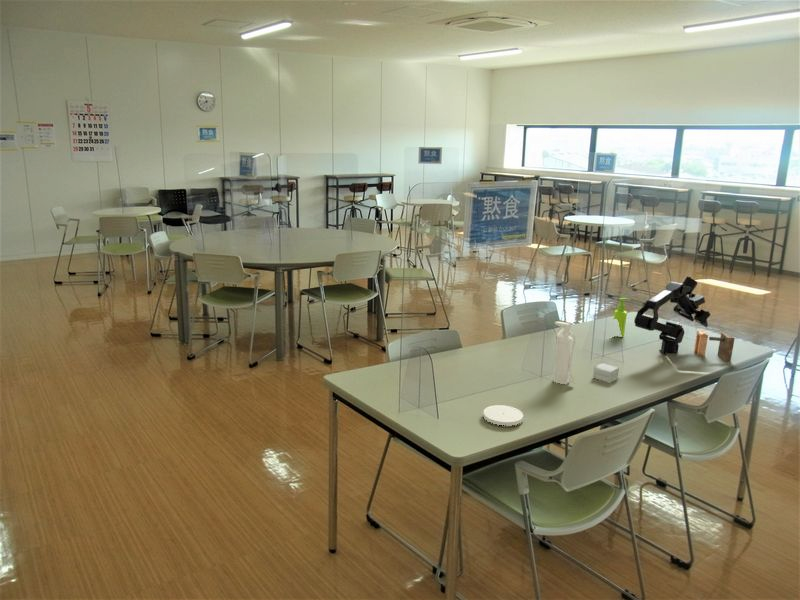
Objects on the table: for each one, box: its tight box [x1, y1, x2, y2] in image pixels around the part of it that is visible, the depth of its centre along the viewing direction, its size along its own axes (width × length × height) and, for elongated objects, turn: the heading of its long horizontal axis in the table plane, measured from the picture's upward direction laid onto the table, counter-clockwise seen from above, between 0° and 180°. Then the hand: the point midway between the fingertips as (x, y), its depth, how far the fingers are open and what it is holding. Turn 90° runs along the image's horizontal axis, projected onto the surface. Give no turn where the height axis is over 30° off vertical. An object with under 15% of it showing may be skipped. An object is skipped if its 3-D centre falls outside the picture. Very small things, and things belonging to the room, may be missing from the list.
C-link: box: [693, 330, 709, 357], centre depth 291 cm, size 3×6×11 cm, turn 172°
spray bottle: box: [553, 321, 576, 385], centre depth 252 cm, size 7×12×25 cm, turn 29°
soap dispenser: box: [613, 297, 631, 338], centre depth 315 cm, size 6×7×20 cm
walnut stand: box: [708, 332, 736, 362], centre depth 286 cm, size 9×8×12 cm
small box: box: [592, 362, 620, 384], centre depth 260 cm, size 8×8×5 cm
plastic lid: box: [482, 404, 524, 427], centre depth 220 cm, size 14×14×2 cm
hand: (699, 323), depth 295 cm, fingers open, 9 cm apart
